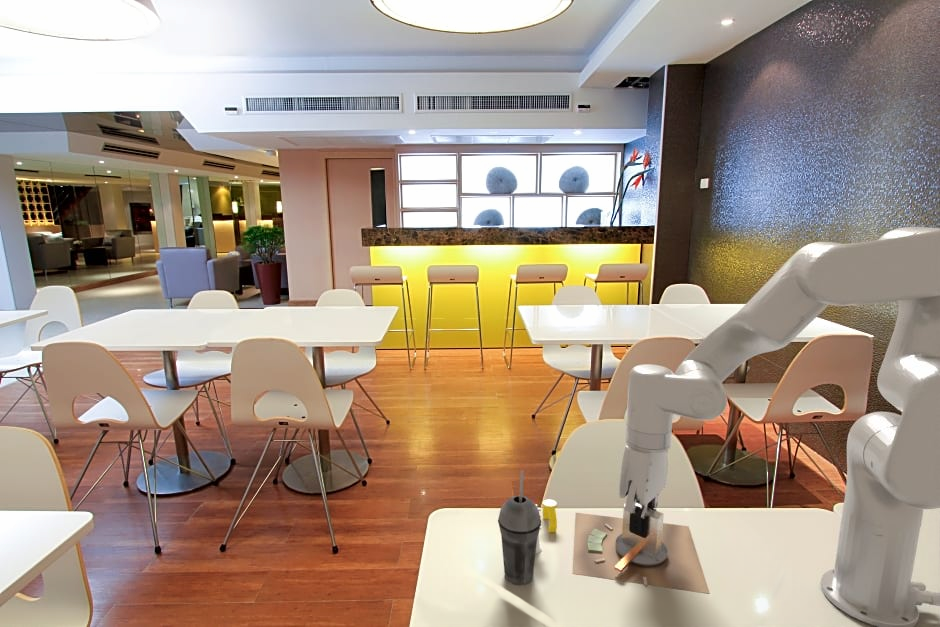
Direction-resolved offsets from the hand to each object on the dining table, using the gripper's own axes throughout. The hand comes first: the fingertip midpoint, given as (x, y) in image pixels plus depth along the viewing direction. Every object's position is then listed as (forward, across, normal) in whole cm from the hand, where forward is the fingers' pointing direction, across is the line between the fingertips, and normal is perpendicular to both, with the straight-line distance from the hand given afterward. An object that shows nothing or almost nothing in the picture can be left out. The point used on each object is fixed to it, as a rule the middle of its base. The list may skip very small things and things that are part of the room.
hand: (642, 529), depth 93 cm
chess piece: (+6, +12, -15) cm, 20 cm away
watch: (+6, +4, -17) cm, 19 cm away
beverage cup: (+6, +20, -12) cm, 24 cm away
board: (+6, 0, -1) cm, 6 cm away
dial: (+4, +2, 0) cm, 5 cm away
